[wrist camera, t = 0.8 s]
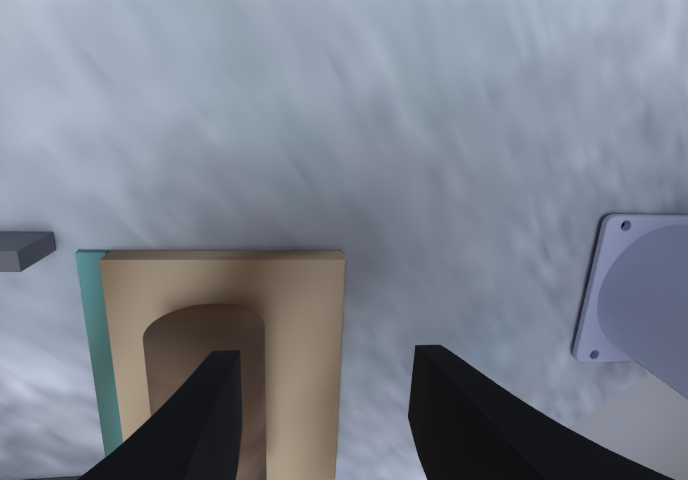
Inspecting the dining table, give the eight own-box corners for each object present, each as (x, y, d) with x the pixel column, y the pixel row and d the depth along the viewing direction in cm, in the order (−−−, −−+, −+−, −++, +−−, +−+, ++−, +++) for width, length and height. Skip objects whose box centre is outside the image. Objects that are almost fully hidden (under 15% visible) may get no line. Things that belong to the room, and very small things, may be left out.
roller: (211, 295, 19) (288, 322, 17) (218, 440, 22) (287, 481, 19) (116, 334, 16) (198, 376, 13) (138, 504, 18) (210, 564, 16)
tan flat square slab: (342, 251, 20) (345, 259, 18) (333, 461, 23) (335, 479, 22) (78, 250, 18) (64, 259, 17) (111, 474, 22) (101, 495, 21)
